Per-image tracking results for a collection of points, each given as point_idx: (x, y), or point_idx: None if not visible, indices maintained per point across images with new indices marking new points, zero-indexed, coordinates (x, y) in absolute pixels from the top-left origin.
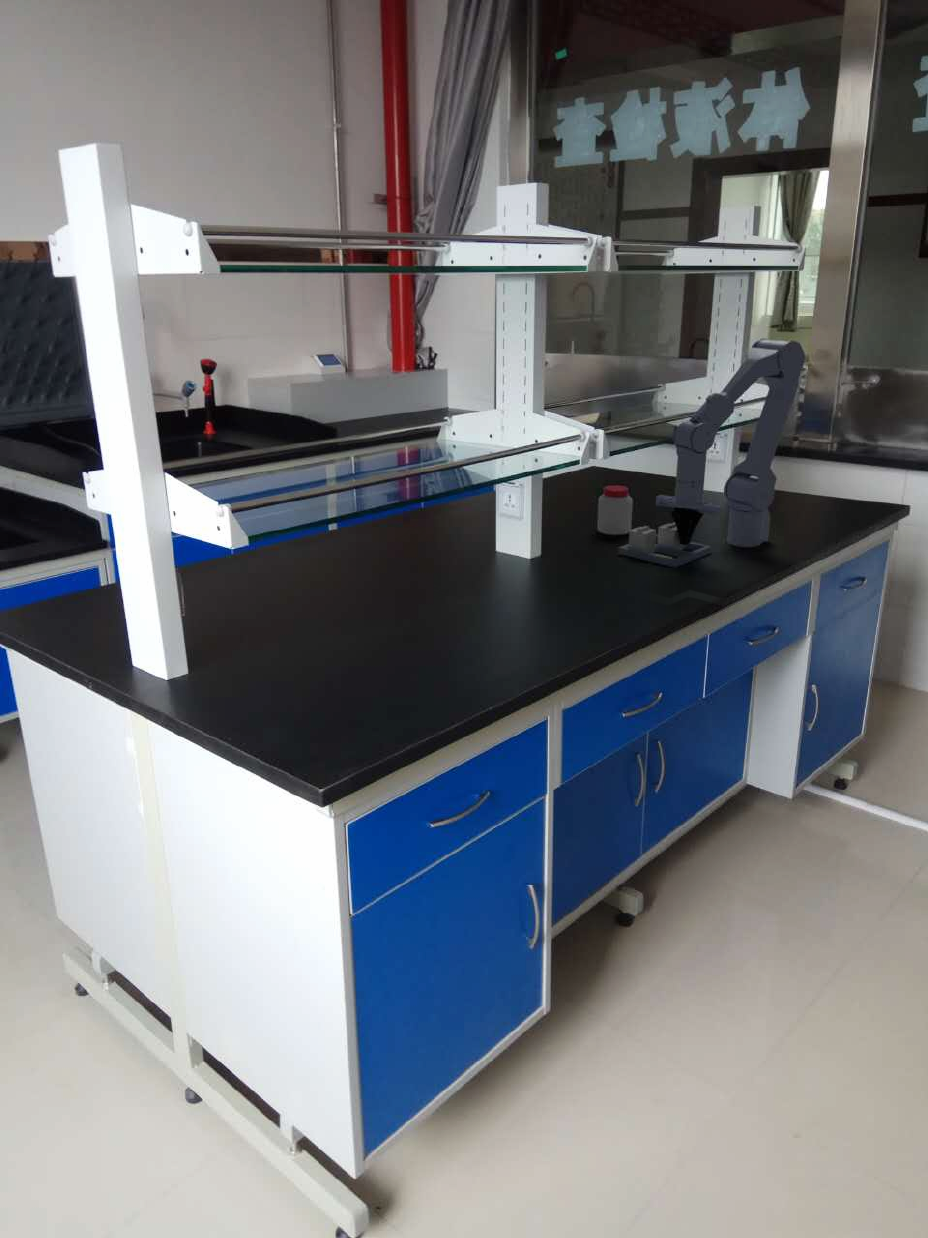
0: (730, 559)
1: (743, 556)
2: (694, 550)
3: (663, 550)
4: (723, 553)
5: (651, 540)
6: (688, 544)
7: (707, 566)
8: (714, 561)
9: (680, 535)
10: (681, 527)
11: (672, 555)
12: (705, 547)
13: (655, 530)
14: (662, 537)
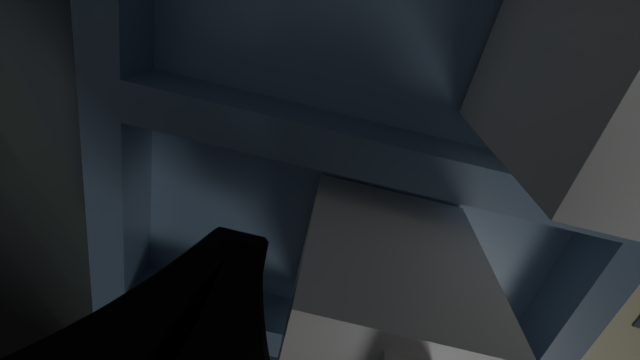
0: (45, 277)
1: (34, 339)
2: None
3: (387, 133)
4: None
5: (544, 68)
6: None
7: (50, 90)
8: (83, 210)
9: (235, 276)
10: (185, 348)
11: (298, 105)
12: (111, 280)
13: (563, 200)
14: (444, 266)
